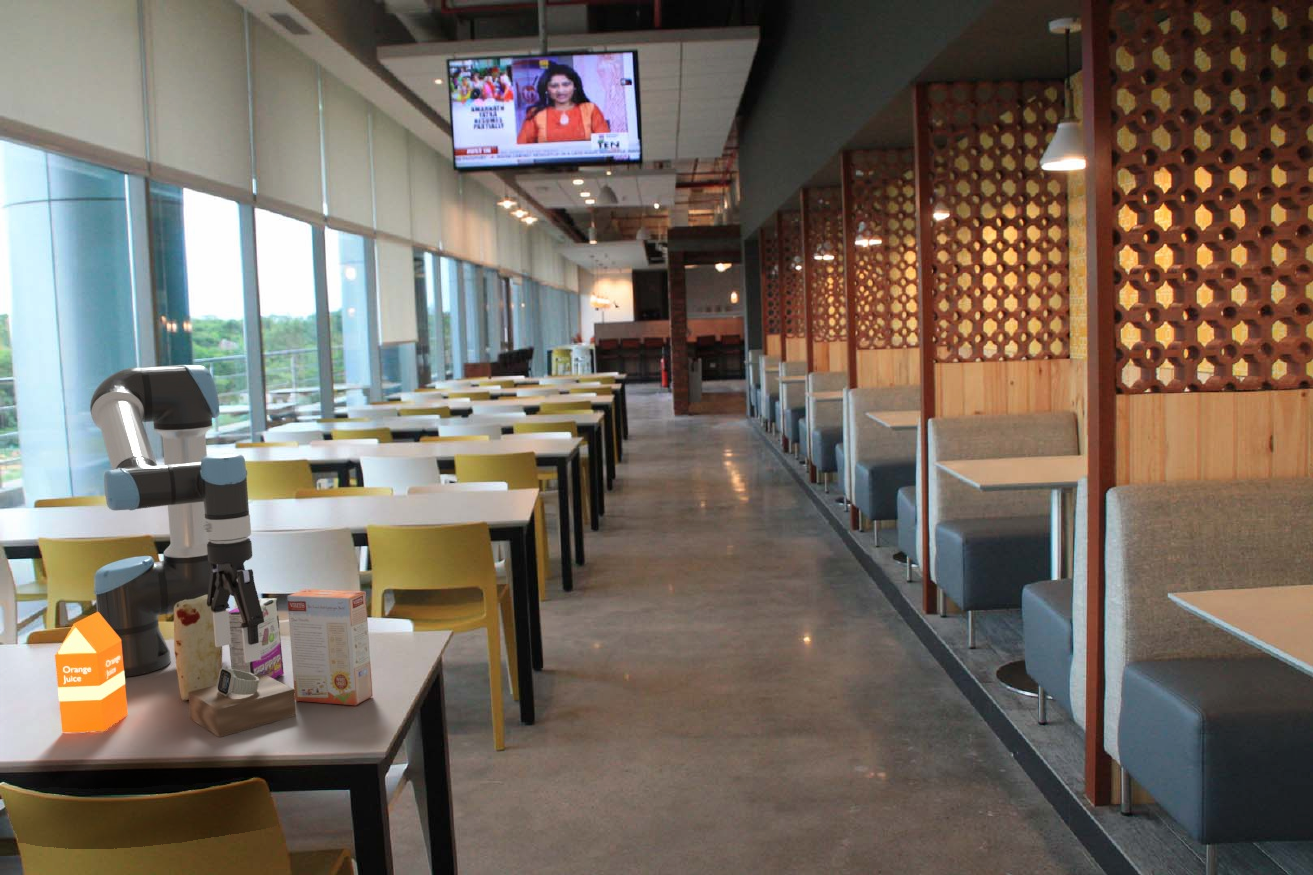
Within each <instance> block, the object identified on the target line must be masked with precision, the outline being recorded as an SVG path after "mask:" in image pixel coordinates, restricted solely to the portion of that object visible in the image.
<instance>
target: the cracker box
mask: <svg viewBox="0 0 1313 875" xmlns="http://www.w3.org/2000/svg"><path fill="white" fill-rule="evenodd" d="M286 597H287V598H286V599H287V610H288V623H289V624H288V625H289V635H290V636H289V637H290V652H291V662H292V663H291V664H292V666H291V667H292V677H293V678H292V679H293V689H294V694H295V702H306V703H319V704H321V703H322V704H331V705H345V706H357V705H359V704H362V702H363V703H364V701H367V700H368V699H370V698H372V697H373V681H372V680H373V679H372V667H371V666H372V665H371V653H370V637H369V625H368V624H369V622H368V621H369V620H368V610H367V598H366V597H367V594H366V591H357V590H337V589H336V590H335V589H334V590H332V589H331V590H329V589H308V588H307V589H301V590H299V591H297V592H294V593H291V594H289V595H287V596H286Z"/></svg>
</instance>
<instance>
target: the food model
mask: <svg viewBox="0 0 1313 875" xmlns="http://www.w3.org/2000/svg"><path fill="white" fill-rule="evenodd" d="M207 597H208V595H204V596H201V597H198V598H195V599H190V600H183V601H179V602H178V603H176V604H175V606H174V613H173V637H174V638H173V640H174V641H173V649H174V656H175V657H174V659H175V665H176V674H177V680H178V687H179V693H180V697H181V700H183V701H187V700H188V701H189V696H188V692H191V691H195V690H199V689H202V688H206V687H210V686H214V685H217V681H218V675H219V670H220V669H223V646H220V647H215V636H214V623H213V613H214V611H213V612H212V611H211V606H209V607H208V605H207Z"/></svg>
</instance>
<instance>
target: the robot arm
mask: <svg viewBox="0 0 1313 875" xmlns="http://www.w3.org/2000/svg"><path fill="white" fill-rule="evenodd" d="M93 392H94V393H93V394H92V397H91V400H90V404H89V406H90V407H89V408H90V411H89V412H90V414H91V418H92V421H93V423H94V424H95V426H96V427H97V428H98V429H99V430H101V434H102V437H103V441H104V445H105V449H106V452H107V456H108V460H109V464H110V468H111V469H109V470H107V471H105V473H104V475H103V486H104V488H103V489H104V495H105V500H106V501H105V502H106V505H107V508H109V510H112V511H136V510H141V509H148V508H149V509H150V508H156V507H166V506H167V514H168V529H169V540H170V541H169V542H170V544H169V546H167V547H166V548H165V550H163V560H162V561H155V559H154V558H153V557H152V556H150V555H141V556H133V557H128V558H122V559H120V560H116V561H113V562H111V563H108V564H106V565H103V566H102V567H100V568H99V569H97V570H96V571H95V574H94V576H93V580H94V590H93V594H94V595H95V603H96V612H99V613H100V614H101V616H102V617H103V618H104V619H105V621H106V622H107V623H108V624H109V625H110V627H111V628H112V629H113V630H114V631H115V633H116V634H117V635H118V636H119V638H120V639H121V645H122V656H123V667H124V674H125V678H128V677H134V676H140V675H145V674H148V673H152V672H155V671H158V670H161V669H163V668H165V667H167V666H168V665H169V664H170V663H171V662H172V661H171V660H172V659H171V651H170V648H169V646H168V644H167V641H166V640H165V638H164V636H163V633H162V632H161V630H160V624H159V616H162V615H163V616H164V615H168V614H174V606H175V604H176V603H178V602H179V601H183V600H190V599H195V598H198V597H201V596H204V595H208V597H207V605H208V607H209V606H211V611H212V612H213V611H214V613H213V623H214V636H215V647H220V646H222V647H225V646H229V644H231V634H230V621H229V609H231V607H230V604H229V600H230V596H232V597H233V598H234V601H235V604H236V608H238V610H239V612H240V615H241V618H242V621H243V623H242V624H241V626H240V627H241V628H242V637H243V650H244V662H245V663H248V662H252V661H256V660H260V659H261V653H260V639H259V624H260V623H264V618H263V614H262V610H261V606H260V602H259V598H260V597H259V595H258V592H257V587H256V584H255V579H254V577H255V576H254V571H253V569H245V562H246V561H249V560H251V559H252V558H253V544H252V539H251V538H250V536H251V535H252V528H251V527H252V526H251V525H252V524H251V514H250V509H249V494H248V480H247V479H248V470H247V467H246V459H245V457H244V456H243V454H241V453H217V454H215V453H214V454H209V455H208V454H207V439H206V435H207V432H208V431H210V429H212V427H213V419H215V418H217V417H219V415H220V402H219V401H220V400H219V397H218V396H219V395H218V390H217V387H216V384H215V381H214V377H213V376H212V373H211V372H210V370H209V369H208V368H207V367H206V366H203V365H197V364H196V365H195V364H178V365H176V364H175V365H163V366H161V365H160V366H147V367H139V366H137V367H129V368H125V369H121V370H119V371H116V372H114V373H113V374H111V375H110V376H108V377H107V378H106V379H104V380H103V381H102V382H101V383H100V384H99V385H98V386H97V388H96V389H95V390H94V391H93ZM148 422H149V423H150V422H151V423H153V430H154V431H155V432H156V433H157V434H159V435H160V436H161V438H162V450H163V460H164V461H163V462H164V464H162V465H159V464H157V461H156V458H155V455H154V452H153V450H152V446H151V443H150V440H149V437H148V434H147V432H146V428H145V425H144V423H148Z"/></svg>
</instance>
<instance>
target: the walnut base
mask: <svg viewBox="0 0 1313 875" xmlns="http://www.w3.org/2000/svg"><path fill="white" fill-rule="evenodd" d="M255 676H256V677H258V678H259V682H258V688H257V692H256V693H254V694H249V695H240V694H234V693H231V694H230V695H229V696H224V695H223V694H220V693H219V691H218V688H217V686H216V685H214V686H210V687H206V688H202V689H199V690H195V691H191V692H188V696H189V700H188V704H189V705H188V706H189V718H190V719H191V720H192V721H194V722H195V723H197V724H198V725H200V726H201V727H203V728H204V729H206V730H207V731H209V732H210V733H212V734H214V735H215V736H216V737H218V738H222V737H224V736H229V735H232V734H236V733H239V732H240V733H241V732H242V731H246V730H250V729H254V728H257V727H260V726H264V725H267V724H270V723H271V724H272V723H274V722H277V721H282V720H285V719H288V718H292V717H295V716H297V711H296V710H297V709H296V700H295V693H294V687H291V686H289V685H287V684H285V683H282V682H281V681H279V680H277V679H276V680H275V679H273V678H271V677H269V676H267V675H265V674H263V673H262V674H258V675H255Z"/></svg>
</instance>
